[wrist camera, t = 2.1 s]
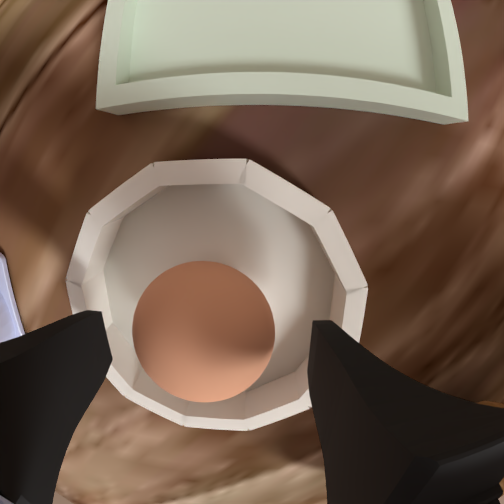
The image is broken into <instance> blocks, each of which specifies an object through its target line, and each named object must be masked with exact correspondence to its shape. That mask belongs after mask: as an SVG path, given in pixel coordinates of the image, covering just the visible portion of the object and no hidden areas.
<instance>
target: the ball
mask: <svg viewBox="0 0 504 504" xmlns="http://www.w3.org/2000/svg"><path fill="white" fill-rule="evenodd" d="M132 337H133V344H134V348H135V352H136V355H137V357H138V359H139V362H140V364H141V365H142V367H143V369H144V370H145V372H146V373H147V374H148V376H149V377H150V378H151V379H152V380H153V381H154V382H155V383H156V384H157V385H158V386H160V387H161V388H162V389H164V390H165V391H167V392H168V393H170V394H172V395H174V396H176V397H179V398H181V399H184V400H188V401H193V402H216V401H222V400H225V399H229V398H231V397H233V396H236V395H238V394H240V393H241V392H243V391H245V390H246V389H247V388H249V387H250V386H251V385H252V384H253V383H254V382H255V381H256V380H257V379H258V378H259V377H260V376H261V374H262V373H263V371H264V370H265V368H266V367H267V365H268V363H269V361H270V358H271V355H272V352H273V348H274V342H275V324H274V319H273V314H272V311H271V308H270V305H269V303H268V301H267V299H266V298H265V296H264V294H263V293H262V291H261V290H260V288H259V287H258V286H257V285H256V284H255V283H254V282H253V281H252V280H251V279H250V278H248V277H247V276H246V275H245V274H243V273H241V272H240V271H238V270H237V269H234V268H232V267H230V266H228V265H225V264H222V263H217V262H211V261H192V262H187V263H183V264H180V265H177V266H174V267H172V268H170V269H168V270H166V271H165V272H163V273H162V274H160V275H159V276H158V277H157V278H155V279H154V280H153V281H152V282H151V283H150V284H149V285H148V287H147V288H146V289H145V291H144V292H143V294H142V295H141V297H140V299H139V301H138V304H137V306H136V309H135V312H134V316H133V323H132Z"/></svg>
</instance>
